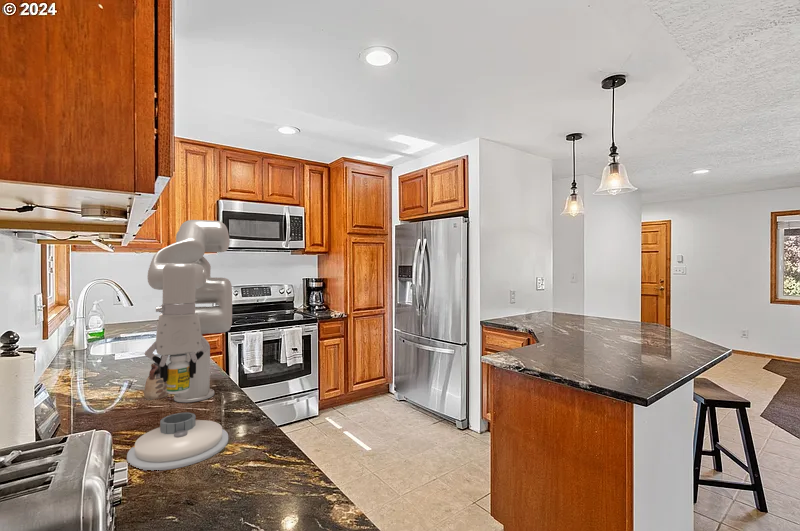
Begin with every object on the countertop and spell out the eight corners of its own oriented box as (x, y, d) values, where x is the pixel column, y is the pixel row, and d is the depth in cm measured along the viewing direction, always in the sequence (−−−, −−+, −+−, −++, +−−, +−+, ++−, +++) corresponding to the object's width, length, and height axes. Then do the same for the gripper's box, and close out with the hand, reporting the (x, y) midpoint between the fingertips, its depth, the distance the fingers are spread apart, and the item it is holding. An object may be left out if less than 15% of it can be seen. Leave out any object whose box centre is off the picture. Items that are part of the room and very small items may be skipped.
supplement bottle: (178, 387, 104) (178, 352, 104) (194, 389, 102) (194, 353, 103) (161, 393, 99) (161, 356, 99) (177, 395, 97) (178, 357, 97)
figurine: (172, 393, 138) (172, 360, 138) (158, 399, 131) (158, 364, 131) (154, 392, 139) (154, 359, 139) (139, 399, 132) (139, 364, 132)
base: (105, 458, 90) (105, 453, 90) (189, 424, 111) (189, 420, 111) (167, 479, 82) (167, 473, 82) (246, 438, 102) (246, 433, 102)
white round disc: (229, 446, 94) (229, 428, 94) (136, 470, 83) (136, 449, 83) (214, 421, 109) (214, 406, 109) (133, 439, 98) (133, 421, 98)
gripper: (140, 313, 93) (139, 388, 93) (217, 309, 103) (216, 376, 103) (139, 310, 99) (138, 380, 99) (211, 307, 109) (211, 370, 109)
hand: (178, 378), depth 101 cm, fingers closed on supplement bottle, 5 cm apart
